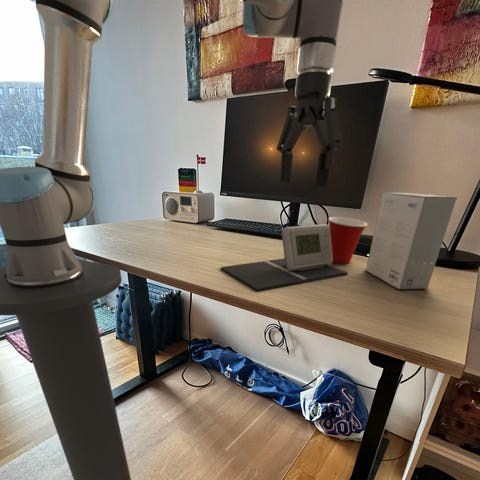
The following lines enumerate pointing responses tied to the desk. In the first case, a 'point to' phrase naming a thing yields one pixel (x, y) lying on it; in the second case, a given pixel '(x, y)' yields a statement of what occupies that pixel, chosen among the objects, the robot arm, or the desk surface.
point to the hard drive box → (409, 238)
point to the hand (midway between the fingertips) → (301, 183)
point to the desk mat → (277, 274)
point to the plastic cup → (344, 237)
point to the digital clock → (307, 247)
